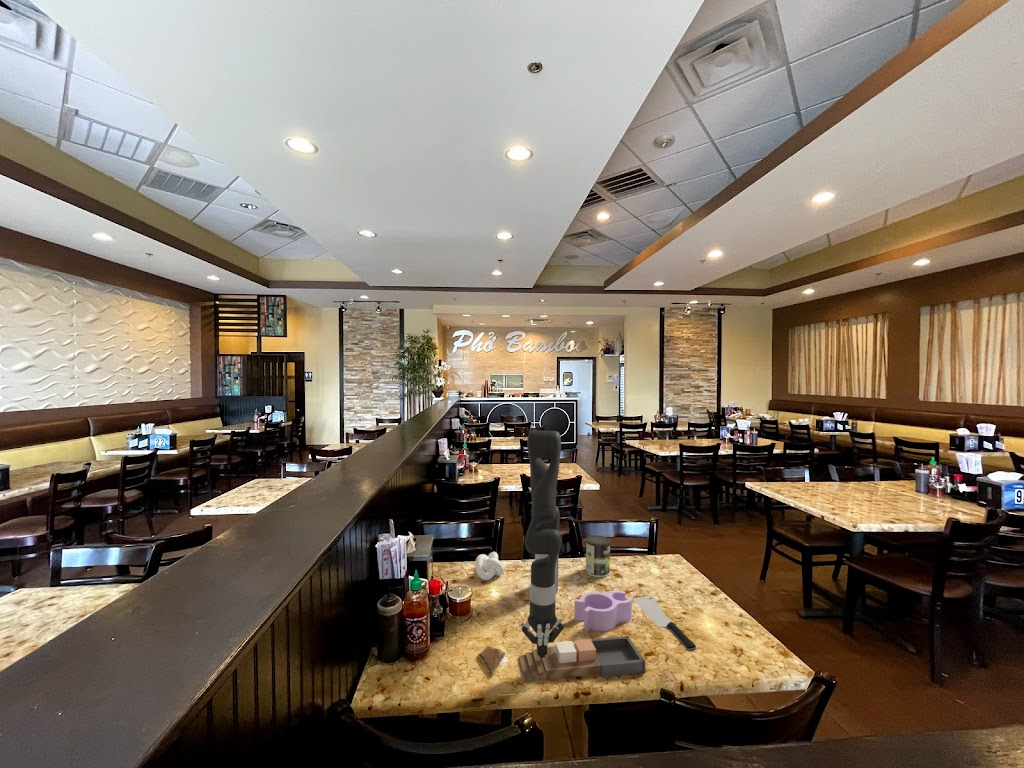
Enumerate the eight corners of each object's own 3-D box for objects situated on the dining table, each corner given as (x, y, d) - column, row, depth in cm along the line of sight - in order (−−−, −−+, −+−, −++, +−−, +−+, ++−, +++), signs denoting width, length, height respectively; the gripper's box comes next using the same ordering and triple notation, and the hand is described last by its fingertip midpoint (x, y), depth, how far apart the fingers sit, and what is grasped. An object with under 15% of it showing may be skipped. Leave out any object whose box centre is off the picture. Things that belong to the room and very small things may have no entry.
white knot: (474, 569, 186) (474, 549, 186) (502, 568, 187) (502, 548, 187) (475, 582, 175) (475, 560, 175) (504, 581, 176) (504, 559, 176)
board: (545, 679, 120) (546, 670, 120) (538, 656, 130) (538, 647, 130) (600, 674, 122) (600, 665, 122) (589, 651, 132) (589, 643, 132)
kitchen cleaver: (627, 598, 163) (652, 592, 165) (628, 602, 163) (652, 597, 165) (671, 651, 132) (700, 644, 134) (671, 656, 132) (701, 649, 134)
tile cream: (559, 663, 123) (559, 653, 123) (555, 652, 128) (555, 642, 128) (576, 661, 124) (576, 651, 124) (571, 650, 129) (571, 640, 129)
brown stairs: (524, 681, 119) (524, 674, 119) (519, 657, 129) (519, 650, 129) (545, 679, 120) (546, 672, 120) (538, 655, 130) (538, 649, 130)
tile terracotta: (579, 661, 124) (579, 651, 124) (574, 650, 129) (574, 640, 129) (595, 659, 125) (596, 649, 125) (590, 648, 130) (590, 639, 129)
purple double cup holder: (617, 604, 159) (617, 586, 159) (639, 623, 148) (639, 603, 148) (570, 615, 152) (570, 596, 152) (589, 635, 140) (589, 615, 140)
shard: (491, 680, 120) (491, 673, 120) (467, 672, 123) (467, 666, 123) (506, 656, 130) (506, 650, 130) (484, 650, 133) (484, 644, 133)
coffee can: (613, 570, 187) (613, 538, 186) (604, 579, 178) (605, 546, 178) (591, 564, 192) (591, 533, 192) (581, 573, 184) (582, 540, 183)
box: (601, 676, 121) (601, 665, 121) (588, 649, 133) (588, 639, 133) (645, 672, 123) (645, 661, 123) (627, 646, 135) (628, 636, 135)
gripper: (522, 605, 120) (521, 666, 120) (568, 602, 122) (567, 662, 122) (518, 592, 127) (517, 649, 128) (561, 589, 129) (560, 645, 129)
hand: (541, 655), depth 125 cm, fingers closed
